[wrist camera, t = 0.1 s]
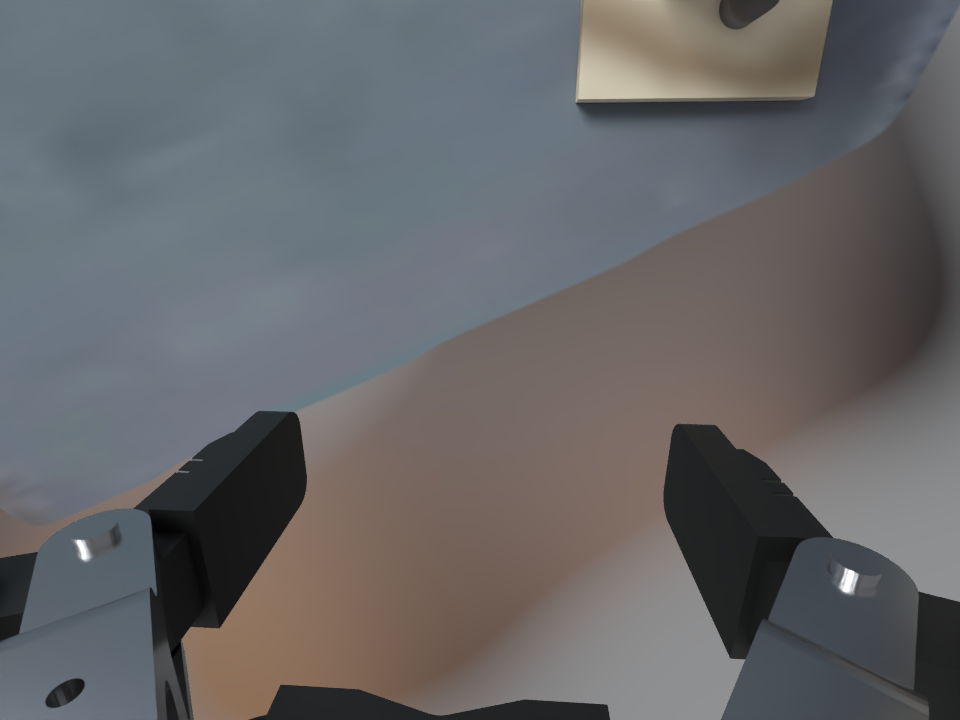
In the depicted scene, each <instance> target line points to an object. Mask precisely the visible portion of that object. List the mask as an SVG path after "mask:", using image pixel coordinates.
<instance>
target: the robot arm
mask: <svg viewBox="0 0 960 720" xmlns="http://www.w3.org/2000/svg"><path fill="white" fill-rule="evenodd" d="M304 459H305V458H304V451H303V444H302V435H301V428H300V422H299V418H298V416H297V414H296V413H294V412H277V411H258V412H256V413H255V414H254V415H253V416H251V417H250V418H249V419H248V420H247V421H246V422H245V423H244V424H243V425H241V426H240V427H239V428H238V429H237V430H236V431H235V432H232V433H230V434H228V435H226V436H224V437H222V438H220V439H218V440H216V441H214V442H212V443H210V444H208V445H207V446H206V447H205V448H203V449H202V450H201V451H200V452H199V453H198V454H196V455H195V456H194V457H193V458H192V461H188V462H187V463H186V464H185V465H184V466H183V467H181V468H180V469H179V472H178V473H174V474H173V475H172V476H171V477H170V478H168V479H167V480H166V481H165V482H164V483H163V484H162V485H160V486H159V487H158V488H157V489H156V490H155V491H153V492H152V493H151V494H150V495H149V496H148V497H146V498H145V499H144V500H143V501H142V502H141V503H140V504H138V505H137V506H136V507H135V508H134V509H115V510H109V511H105V512H101V513H97V514H94V515H91V516H88V517H85V518H83V519H80V520H78V521H76V522H74V523H71V524H70V525H68V526H66V527H64V528H62V529H61V530H59V531H58V532H56V533H55V534H54V535H52V536H51V537H50V538H49V539H48V540H47V541H46V542H45V543H44V544H43V545H42V546H41V548H40V549H39V551H38V552H35V553H29V554H23V555H16V556H10V557H4V558H0V720H194V717H193V710H192V703H191V695H190V687H189V680H188V671H187V664H186V656H185V651H184V647H183V643H182V638H183V636H184V635H185V634H186V632H187V631H188V630H189V628H190V627H205V628H220V627H221V626H222V624H223V622H224V621H225V619H226V618H227V616H228V615H229V613H230V612H231V610H232V609H233V607H234V606H235V604H236V603H237V601H238V600H239V598H240V597H241V595H242V594H243V592H244V591H245V589H246V587H247V586H248V584H249V583H250V581H251V580H252V578H253V577H254V575H255V574H256V572H257V571H258V569H259V568H260V566H261V565H262V563H263V562H264V560H265V559H266V557H267V555H268V554H269V552H270V551H271V549H272V548H273V546H274V545H275V543H276V542H277V540H278V539H279V537H280V536H281V534H282V533H283V531H284V530H285V528H286V527H287V525H288V523H289V522H290V521H291V519H292V518H293V516H294V514H295V513H296V511H297V510H298V508H299V507H300V505H301V504H302V501H303V499H304V495H305V492H306V485H307V474H306V466H305V460H304ZM664 509H665V514H666V518H667V521H668V523H669V525H670V527H671V529H672V532H673V534H674V536H675V538H676V540H677V542H678V545H679V547H680V549H681V551H682V554H683V556H684V558H685V560H686V562H687V564H688V567H689V569H690V571H691V573H692V575H693V578H694V580H695V582H696V584H697V586H698V589H699V591H700V593H701V595H702V597H703V600H704V602H705V604H706V606H707V608H708V611H709V613H710V615H711V617H712V619H713V621H714V624H715V626H716V628H717V630H718V632H719V634H720V637H721V639H722V641H723V643H724V646H725V648H726V650H727V652H728V654H729V657H730V658H733V659H746V660H745V662H744V665H743V667H742V670H741V672H740V675H739V677H738V679H737V682H736V684H735V687H734V689H733V692H732V694H731V696H730V699H729V701H728V704H727V706H726V709H725V711H724V714H723V716H722V719H721V720H960V602H957V601H954V600H950V599H946V598H942V597H937V596H933V595H929V594H925V593H922V592H918V589H917V588H916V585H915V583H914V582H913V580H912V579H911V577H910V576H909V575H908V574H906V572H905V571H904V570H902V569H901V568H900V567H899V566H898V565H896V564H895V563H893V562H892V561H890V560H889V559H888V558H886V557H884V556H883V555H881V554H879V553H877V552H875V551H873V550H871V549H869V548H866V547H864V546H861V545H859V544H856V543H852V542H849V541H845V540H841V539H835V538H833V537H832V536H831V535H830V533H829V532H828V531H827V530H826V529H825V528H824V527H823V526H822V525H821V524H820V522H819V521H818V520H817V519H816V518H815V517H814V516H813V515H812V513H811V512H810V511H809V510H808V509H807V508H806V507H805V506H804V505H803V503H802V502H801V501H800V500H799V499H798V498H797V497H794V496H793V492H792V491H791V490H790V489H789V488H788V487H787V486H786V485H785V483H781V479H780V478H779V477H778V476H777V475H776V474H775V472H774V471H773V470H772V469H771V468H770V467H769V466H768V465H767V464H766V463H765V462H763V461H762V460H760V459H758V458H757V457H755V456H753V455H752V454H750V453H748V452H747V451H745V450H744V449H736V448H735V447H734V446H733V445H732V444H731V442H730V441H729V440H728V439H727V438H726V437H725V435H724V434H723V433H722V432H721V430H720V429H719V428H718V427H717V426H715V425H697V424H694V425H693V424H677V425H676V426H675V427H674V429H673V432H672V437H671V444H670V450H669V457H668V464H667V471H666V478H665V485H664ZM249 720H610V717H609V711H608V706H607V705H604V704H588V703H571V702H570V703H569V702H554V701H538V700H521V701H515V702H510V703H505V704H501V705H495V706H490V707H485V708H480V709H475V710H471V711H465V712H461V713H455V714H450V715H443V716H438V715H432V714H428V713H425V712H422V711H419V710H416V709H413V708H411V707H408V706H405V705H402V704H399V703H396V702H393V701H390V700H388V699H385V698H382V697H379V696H376V695H373V694H370V693H367V692H364V691H362V690H359V689H357V690H356V689H342V688H326V687H325V688H324V687H309V686H293V685H280V687H279V690H278V692H277V694H276V696H275V699H274V700H273V703H272V705H271V707H270V709H269V711H268V713H267V715H264V716H259V717H256V718H253V719H249Z"/></svg>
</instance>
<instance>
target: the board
mask: <svg viewBox="0 0 960 720" xmlns="http://www.w3.org/2000/svg"><path fill="white" fill-rule="evenodd" d="M832 3H833V0H581V11H580V30H579V48H578V67H577V85H576V103H602V102H693V101H784V100H804V99H808V98H811V97H814V96H815V91H816V86H817V81H818V75H819V70H820V65H821V60H822V55H823V50H824V44H825V39H826V34H827V29H828V24H829V18H830V13H831V8H832Z"/></svg>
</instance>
